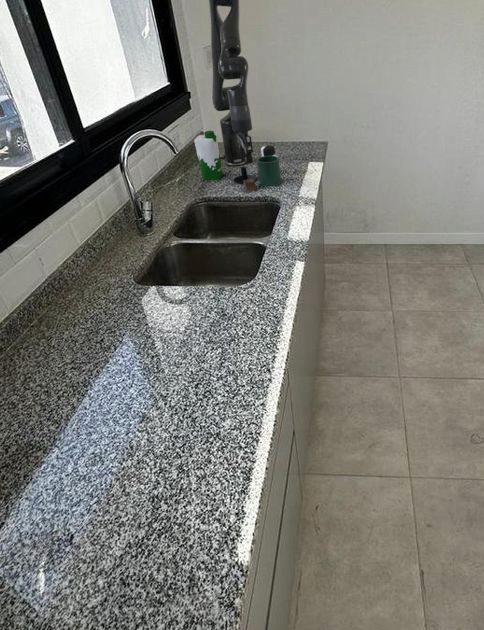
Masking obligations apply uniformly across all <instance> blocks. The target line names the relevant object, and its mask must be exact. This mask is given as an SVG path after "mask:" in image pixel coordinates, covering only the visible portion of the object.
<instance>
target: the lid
mask: <svg viewBox="0 0 484 630" xmlns="http://www.w3.org/2000/svg"><path fill="white" fill-rule="evenodd" d="M247 179H253V180H254V181H255V182H256V181H257V180H258V179H257V176H256V175H252V174H248V170H247V166H240V175H238V176H236V177H234V178H233V183H235V184H237V185H244V184H243V180H247Z"/></svg>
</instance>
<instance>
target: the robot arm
mask: <svg viewBox="0 0 484 630" xmlns="http://www.w3.org/2000/svg"><path fill="white" fill-rule="evenodd" d="M219 7H226V8H230V9H229V12H228V14H227V16H226V17H225V19H224V20H223V19H222V17H221V14H220V11H219ZM208 8H209V18H210V19H209V20H210V51H211V54H210V55H211V67H212V69H211V70H212V78H211V79H212V84H211V101H212V105H213V108H214V110H215V111H217V112H225V111H228V113H227V114H226V115H224V117H221V119H220V120H219V127H220V131H221V137H222V143H223V149H224V152H223V153H224V154H223V156H220V160H224V159H225V161H226V165H227V166H229V167H238V166H242V165H244V164H246V163H247V164H252V163H253V162H254V161H253V153H254V148H253V142H252V141H253V140H252V136H251V135H250V134H249V132H250V131H252V129H253V125H252V117H251V108H250V105H249V100H248V99H249V98H248V92H247V91H248V87H247V85H248V76H249V62H248V60H247V59H246V57H244V56H242V55H241V53H242V44H241V35H240V34H241V33H240V0H208ZM240 55H241V56H240ZM225 80H226V81H227V80H239V83H238V84H235V85H233V86H225V87H224V82H225Z"/></svg>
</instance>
